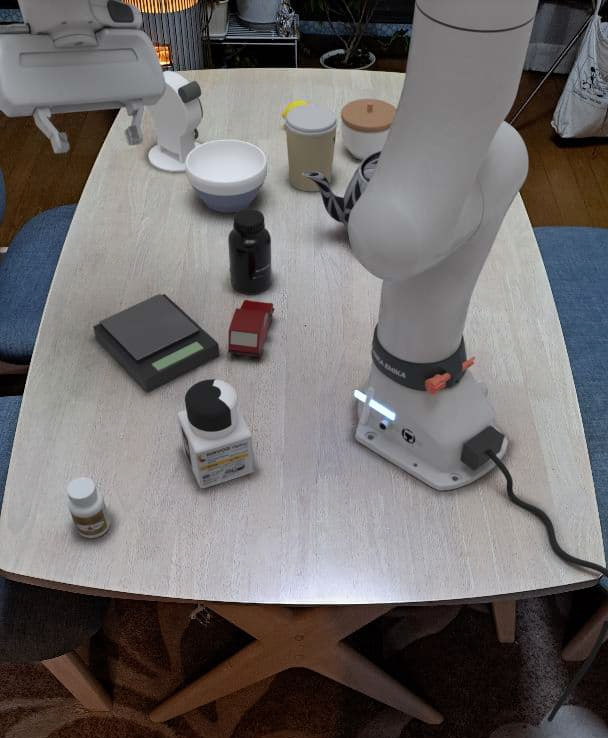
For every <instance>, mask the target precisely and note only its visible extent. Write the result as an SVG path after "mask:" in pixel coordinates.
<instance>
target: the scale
mask: <svg viewBox="0 0 608 738" xmlns="http://www.w3.org/2000/svg"><path fill="white" fill-rule="evenodd" d="M98 322H99V323H98V324H97V323H96V325H93V326H92V328H93V333H94V336H95V340H96V341H97V342H98V343H99V344H100V345H101V346H102V347H103V348H104V349H105V351H107V352H108V353H109V354H110V355H111V357H112V358H114V360H115V361H116V362H117V363H118V364H119V365H120V366H121V367H122V368H123V369H124V370H125V371H126V372H127V373H128V374H129V375H130V376H131V377H132V378H133V379H134V380H135V382H137V383H138V384H139V385H140V386H141V387H142V389H144V391H145V392H146V393H150V392H152V391H153V390H155V389H157V388H159V387H162V386H163V385H165V384H167V383H169V382H172V380H175V379H177V378H179V377H181V376H183V375H185V374H187V373H189V372H191V371H192V370H195V369H197V368H199V367H200V366H202V365H204V364H206V363H208V362H210V361H212V360H214V359H216V358H218V357H220V356H221V355H220V347H219V342H218V341H216V340H215V339H214V338H213V336H211V335H210V334H209V333H208V332H207V331H206V330H204V329H203V328H202V327H201V326H200V325H199V324H198V323H197V322H196V321H195V320H194V319H193V318H191V317H190V316H189V315H188V314H187V313H186V312H185V311H184V310H183V309H182V308H181V307H180V306H179V305H178V304H176V302H174V300H172V299H171V298H170V297H169V296H168V295H166V293H163V294H161V293H158V294H156V295H154V296H151V297H149V298H147V299H145V300H143V301H140V302H138V303H136V304H134V305H132V306H130V307H127V308H125V309H122V310H121V311H119V312H116V313H114V314H112V315H110V316H108V317H105V318H103V319H102V320H99V321H98Z"/></svg>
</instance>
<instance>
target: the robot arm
mask: <svg viewBox="0 0 608 738" xmlns="http://www.w3.org/2000/svg"><path fill="white" fill-rule="evenodd" d="M17 2H18V6H19V9H20V13H21V16H22V19H23V23H11V24H0V111H1V112H2V113H4V115H5V116H6V117H8V118H16V117H17V118H18V117H29V116H33V119H34V122H35V126H36V127H37V128H38V129H39V130H40V131H41V132H42V133H43V134H44V135H45V136H46V138H48V140H50V144H51V147H52V150H53V152H54V154H63V153H68V151H70V149H71V148H70V142H69V141H68V135H67V133H66V132H59V131H58V130H57V128H56V127H55V126H54V124H53V123H52V122H51V121H50V119H51V117H52V115H53V114H66V113H75V112H77V113H78V112H89V111H90V112H91V111H100V110H114V109H124V108H125V111H126V114H127V116H128V117H132V118H131V123H130V125H128V127H127V128H126V129H125V130H124V135H125V138H126V143H127V145H128V146H138V145H141V144H142V143H143V142H144V135H143V132H142V129H141V125H142V122H143V121H142V120H143V116H144V112H145V107H148V106H151V105H155V104H156V103H157V102H158V101H159V100H160V99H161V98H162V97H163V95H164V92H165V90H166V82H165V78H164V74H163V71H162V68H161V65H162V64H161V62H160V59H159V56H158V53H157V50H156V47H155V45H154V43H153V41H152V40H151V38H150V36H148V35H147V33H146V32H144V31H143V30H141V29H140V28H141V26H142V24H143V15H142V12H141V10H140V8H139V7H138V6H137V5H134V4H132V3H128V2H125V1H122V0H17ZM539 2H540V0H415V3H414V10H413V11H414V12H413V19H412V26H411V34H410V41H409V47H408V48H409V49H408V55H407V62H406V67H405V74H404V75H405V76H404V80H403V83H402V88H401V89H402V90H401V92H400V97H399V100H398V104H397V107H396V113H395V115H394V118H393V121H392V124H391V127H390V130H389V132H388V135H387V138H386V141H385V144H384V146H383V149H382V152H381V154H380V157H379V159H378V162H377V165H376V167H375V170H374V172H373V174H372V176H371V178H370V180H369V182H368V184H367V186H366V188H365V190H364V191H363V193H362V195H361V196H360V198H359V199H358V201H357V202H356V204H355V205H354V207H353V209H352V211H351V213H350V216H349V221H348V231H347V233H348V238H349V240H348V241H349V244H350V246H351V247H350V248H351V249H352V251H353V254H354V257H356V259H357V261H358V262H359V263H360V264H361V266H362V267H363V268H364V269H365V270H366V271H367V272H368V273H370V274H371V275H373V276H374V277H376V278H377V279H380V280H381V281H382V282H381V291H380V299H379V300H380V301H379V309H378V318H377V322H376V325H375V327H374V330H373V337H372V340H371V344H370V345H371V353H370V354H371V359H372V361H371V362H372V363H371V367H370V371H369V375H368V379H367V382H366V385H365V388H364V390H363V392H361V391H359V390H357V389H356V390H354V397H355V398H357V399H358V403H357V409H356V411H357V417H358V424H357V427H356V430H355V434H354V439H355V440H356V441H357V442H358V443H359V444H361V445H363V446H364V447H366V448H368V449H369V450H371V451H373V452H374V453H376V454H377V455H379V456H381V457H382V458H384V459H386V461H388V462H390V463H392V464H393V465H395V466H397V467H398V468H400V469H401V470H403V471H404V472H406V473H408V474H410V475H411V476H413V477H414V478H416V479H418V480H419V481H421V482H422V483H424V484H426V485H428V486H429V487H431V488H432V489H434V490H436V491H451V490H455V489H459V488H462V487H465V486H467V485H469V484H472V483H474V482H475V481H477V480H479V479H481V478H483V476H485V475H486V474H487V473H489V472H490V471H492V470H493V469H494V468H495V467H496V466H497V467H498V469H500V471H501V472H502V474H503V476H504V478H505V482H506V494H507V496H508V498H509V499H510V500H511V501H512V502H513V503H514V504H515V505H517V506H518V507H521V508H522V509H524V510H527V511H529V512H532V513H534V515H535V514H536V515H537V516H538V517H540V519H542V521H543V522H544V524H545V527H546V530H547V533H548V538H549V542H550V545H551V547H552V548H553V550H554V551H555V553H556V554H557V555H558V556H560V557H561V558H562V559H563V560H565V561H567V562H569V563H571V564H573V565H576V566H580V567H583V568H587V569H590V570H594V571H596V572H598V573H601V574H602V575H603V576H605V577H606V578H607V579H608V569H607V568H606V567H604V566H602V565H600V564H598V563H595V562H592V561H588V560H585V559H581V558H578V557H575V556H574V555H571V554H569V553H567V552H566V551H565V550H563V548H562V547H561V546H560V544H559V543H558V540H557V537H556V532H555V528H554V524H553V523H552V520H551V519H550V517H549V515H547V513H546V512H545V511H543V510H542V509H540V508H539V507H537V506H534V505H532V504H530V503H528V502H526V501H523V500H522V499H521V498H519V497H517V495H516V494H515V493H514V490H513V489H514V488H513V487H514V482H513V481H514V480H513V477H512V475H511V473H510V471H509V469H508V468H507V466H506V465H505V464H504V462H503V461H502V459H503V458H504V456H505V454H506V452H507V449H508V445H509V441H508V438H507V437H506V435H505V434H503V433H502V431H501V430H500V429H499V428H498V427H497V426H496V415H495V411H494V408H493V406H492V405H491V403H490V401H489V400H488V398H487V396H488V394H489V393H488V388H487V386H486V385H485V384H484V382H478V381H477V380H476V378H475V376H474V375H473V373H472V372H471V370H470V369H469V368H471V367H472V366H473V365H474V364H475V360H476V356H472V357H470V358H468V359H467V351H466V344H465V337H464V329H465V325H466V320H467V317H468V312H469V309H470V308H469V307H470V303H471V299H472V296H473V293H474V290H475V287H476V284H477V282H478V279H479V277H480V275H481V273H482V271H483V268H484V266H485V264H486V261H487V259H488V257H489V255H490V252H491V250H492V248H493V245H494V243H495V241H496V239H497V236H498V233H499V232H500V229H501V226H502V224H503V222H504V219H505V217H506V216H507V213H508V211H509V209H510V207H511V205H512V203H513V202H514V200H515V198H516V197H517V195H518V193H519V192H520V191H521V189H522V187H523V186H524V183H525V181H526V179H527V177H528V172H529V154H528V150H527V146H526V143H525V141H524V139H523V138H522V136H521V134H520V133H519V132H518V131H517V130H516V129H515V127H513V126H512V124H510V123H508V122H507V121H505V119H506V118H507V116H508V115H509V113H510V112H511V110H512V107H513V106H514V104H515V100H516V98H517V95H518V91H519V85H520V82H521V78H522V75H523V74H522V73H523V71H524V65H525V61H526V56H527V53H528V48H529V44H530V39H531V35H532V31H533V26H534V22H535V18H536V14H537V10H538V5H539ZM160 64H161V65H160ZM607 632H608V620H604V621H603V623H602V626H601V629H600V630H599V634H598V636H597V638H596V641H595V643H594V645H593V647H592V649H591V651H590V653H589V654H588V656H587V657H586V660H585V661H584V663H583V664H582V665H581V667H580V668H579V671H578V672H577V673H576V675H574V677H573V679H572V680H571V682H570V683H569V685H568V686H567V687H566V689H565V690H564V691H563V693H562V695H561V696H560V698H559V699H558V700H557V702H556V704H555V705H554V707H553V708H552V710H551V711H550V713H549V715H548V716H547V722H548V723H551V722H552V721H553V720H554V719H555V717H556V715H557V713H558V712H559V711H560V709H561V707H562V706H563V704H564V703H565V701H566V700H567V699H568V697H569V696H570V695H571V693H572V692H573V690H574V689H575V687H576V686H577V685H578V684H579V682H580V681H581V679H582V677H584V675H585V673H586V672H587V670H589V667H590V666H591V664H592V662H593V661H594V659H595V657H597V654H598V652H599V650H600V648H601V646H602V645H603V642H604V640H605V638H606V635H607Z"/></svg>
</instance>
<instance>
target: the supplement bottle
mask: <svg viewBox="0 0 608 738" xmlns="http://www.w3.org/2000/svg"><path fill="white" fill-rule="evenodd" d="M227 243H228V245H227V246H228V261H229V275H230V283H231V286H232V287H233V288H234V289H235V290H236V291H238V292H240V293H242V294H247V295H254V294H255V295H256V294H260V293H263V292H265V291H266V290H267V289H268V288H269V287H270V286H271V283H272V236H271V234H270V232H269V230H268V229H267V228H266V223H265V215H264V213H263V212H262V211H260V210H258V209H255V208H245V209H243V210H240V211H237V212H234V215H233V224H232V229H231V230H230V232H229V234H228V237H227Z"/></svg>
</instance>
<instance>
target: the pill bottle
mask: <svg viewBox="0 0 608 738" xmlns="http://www.w3.org/2000/svg"><path fill="white" fill-rule="evenodd" d="M66 494H67V497H68V499H67V508H68V510H69V513H70V516H71V519H72V521H73V524H74V526H75V529H76V531H77V533H78V534H79V535H80V536H82V537H84V538H87V539H95V538H99V537H101V536H103V535H104V534H105V533H106V532H108V530H109V529H110V526H111V519H110V514H109V512H108V508H107V506H106V503H105V499H104V496H103V494H102V493H101V491H99V490H98V489H97V486H96V483H95V482H94V481H93V480H92V479H91V478H89V477H82V476H81V477H77V478H74V479H73V480H71V481H70V482H69V483H68V484H67V487H66Z"/></svg>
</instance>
